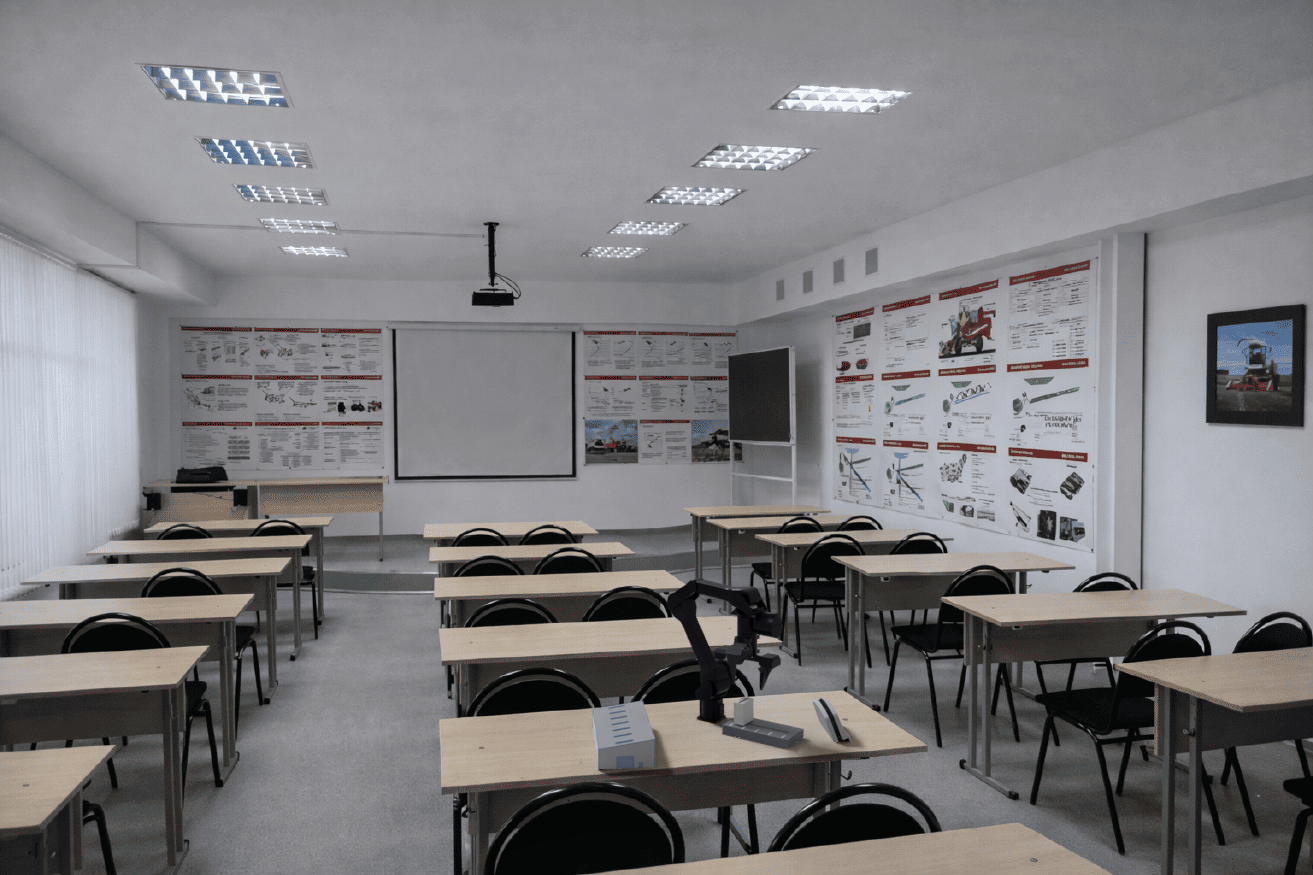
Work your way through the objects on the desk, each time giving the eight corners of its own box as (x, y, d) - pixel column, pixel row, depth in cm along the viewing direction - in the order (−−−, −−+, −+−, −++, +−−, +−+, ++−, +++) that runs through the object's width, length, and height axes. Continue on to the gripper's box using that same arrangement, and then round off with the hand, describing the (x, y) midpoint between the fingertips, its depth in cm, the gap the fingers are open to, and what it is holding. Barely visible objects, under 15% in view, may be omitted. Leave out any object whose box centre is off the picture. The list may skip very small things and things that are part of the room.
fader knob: (733, 723, 233) (733, 701, 233) (744, 717, 238) (744, 696, 238) (743, 725, 231) (743, 703, 231) (753, 719, 236) (753, 697, 236)
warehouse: (592, 728, 238) (592, 702, 238) (642, 726, 240) (642, 700, 240) (598, 771, 208) (598, 741, 208) (655, 768, 210) (655, 738, 210)
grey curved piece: (852, 742, 226) (840, 708, 226) (836, 748, 226) (823, 714, 226) (836, 720, 243) (824, 688, 243) (820, 726, 243) (809, 694, 243)
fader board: (722, 733, 233) (722, 724, 233) (739, 723, 241) (739, 714, 241) (787, 749, 222) (787, 739, 222) (803, 737, 230) (803, 728, 230)
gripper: (704, 632, 235) (704, 687, 236) (762, 643, 224) (762, 700, 225) (724, 625, 244) (724, 678, 245) (781, 634, 233) (781, 690, 234)
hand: (747, 686), depth 237 cm, fingers open, 9 cm apart
